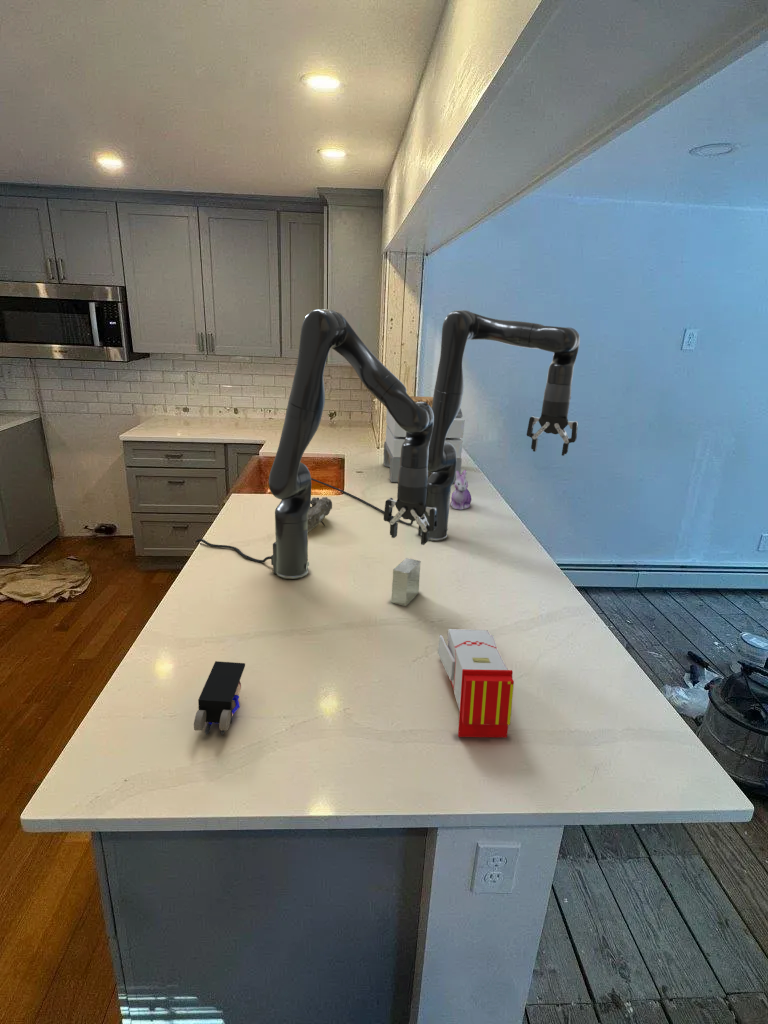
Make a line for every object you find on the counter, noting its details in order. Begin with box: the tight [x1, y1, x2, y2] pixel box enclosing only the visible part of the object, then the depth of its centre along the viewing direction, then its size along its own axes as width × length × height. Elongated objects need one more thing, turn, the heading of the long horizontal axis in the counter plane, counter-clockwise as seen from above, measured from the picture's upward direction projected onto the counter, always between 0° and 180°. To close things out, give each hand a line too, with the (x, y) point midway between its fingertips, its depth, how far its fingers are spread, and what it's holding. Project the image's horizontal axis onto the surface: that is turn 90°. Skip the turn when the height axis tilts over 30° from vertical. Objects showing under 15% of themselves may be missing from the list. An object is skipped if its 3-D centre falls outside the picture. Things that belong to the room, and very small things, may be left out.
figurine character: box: [193, 660, 246, 736], centre depth 107 cm, size 7×8×15 cm
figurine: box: [450, 469, 472, 511], centre depth 228 cm, size 9×10×15 cm
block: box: [391, 557, 422, 607], centre depth 154 cm, size 4×9×10 cm, turn 154°
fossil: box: [308, 496, 333, 533], centre depth 202 cm, size 22×10×15 cm
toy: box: [437, 628, 515, 738], centre depth 117 cm, size 12×13×30 cm
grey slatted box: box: [383, 395, 465, 484], centre depth 268 cm, size 34×33×41 cm
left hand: (408, 540), depth 150 cm, fingers open, 8 cm apart
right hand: (548, 453), depth 171 cm, fingers open, 8 cm apart
